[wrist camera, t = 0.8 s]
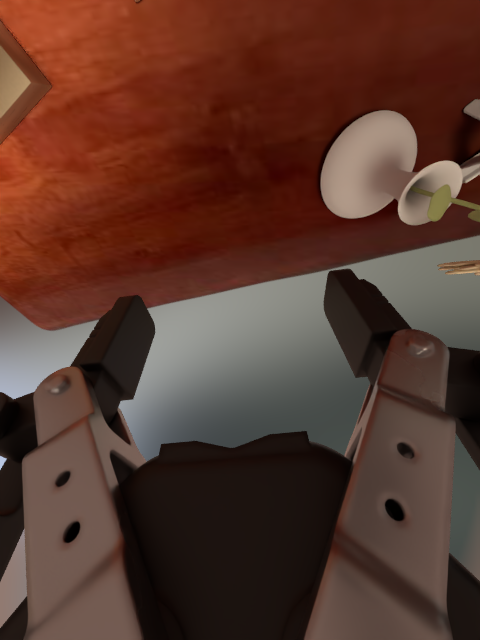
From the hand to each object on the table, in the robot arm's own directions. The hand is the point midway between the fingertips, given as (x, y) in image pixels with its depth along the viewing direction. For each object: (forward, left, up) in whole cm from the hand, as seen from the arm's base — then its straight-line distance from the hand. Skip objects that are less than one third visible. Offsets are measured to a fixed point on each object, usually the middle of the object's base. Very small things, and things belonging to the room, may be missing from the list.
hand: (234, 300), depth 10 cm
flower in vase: (-2, +18, -27) cm, 33 cm away
